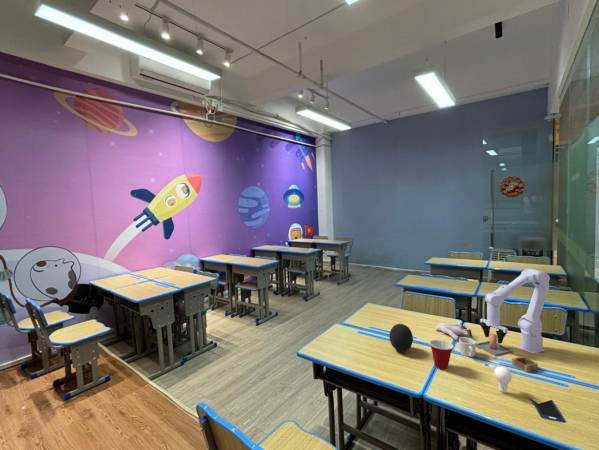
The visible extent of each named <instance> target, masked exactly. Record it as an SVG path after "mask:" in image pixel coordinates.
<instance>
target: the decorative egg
mask: <svg viewBox="0 0 599 450" xmlns="http://www.w3.org/2000/svg"><path fill="white" fill-rule="evenodd" d="M389 331H390V332H389V336H388V337H389V342H390V344H391V345H392V347H393V349H395V350H396V351H398V352H406V351H408V350H409V349H410V348H412V345H413V342H414V337H413V332H412V330H411V329H410V327H409V326H407V325H406V324H403V323H397V324H394V325H393V326H392V327H391V329H390V330H389Z"/></svg>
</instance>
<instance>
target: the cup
mask: <svg viewBox="0 0 599 450" xmlns="http://www.w3.org/2000/svg"><path fill="white" fill-rule="evenodd" d="M458 344H459V352H460V354H461V355H462V356H464V357H467V358H472V357H475V356H476V348H477V347H476V344H477V341H476V340H475V339H473V338H472V337H471V338H469V337H465V336H463V337H461V338H459V342H458Z"/></svg>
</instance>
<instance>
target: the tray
mask: <svg viewBox="0 0 599 450" xmlns="http://www.w3.org/2000/svg"><path fill="white" fill-rule="evenodd" d="M476 348H478V349H479V350H483V351H485V352H487V353H489V354H491V355H492V356H495V357H497V356H498V357H499V356H501V355H506V354H510V353H513V352H514V351H513V349H511V348H509V347H506V346H505V345H502V343H500V344H499V343H498V342H497V350H493V349H491V348H490V340H488V341H482V342H478V343H477V342H476Z"/></svg>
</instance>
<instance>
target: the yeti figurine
mask: <svg viewBox="0 0 599 450" xmlns="http://www.w3.org/2000/svg"><path fill="white" fill-rule="evenodd" d="M435 331H439V332H442V333H444V334H446V335H449V336H450V337H451V338H452V339H453V340H454V341H456V342H457V343H459V338H462V337H461V336H460V335H462V334H465V333H467V335H468V338H471V339H472V337H473V335H472V330H471V329H470V328H469V329H468V327H466V325H460V324H458V323H455V322H453V323H448V322H441V323H439V324H437V325H436V326H435Z"/></svg>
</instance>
